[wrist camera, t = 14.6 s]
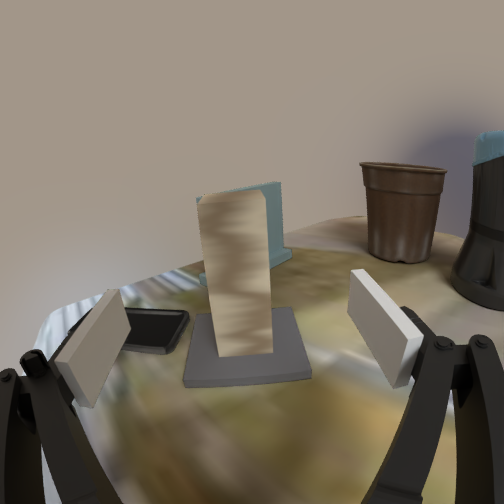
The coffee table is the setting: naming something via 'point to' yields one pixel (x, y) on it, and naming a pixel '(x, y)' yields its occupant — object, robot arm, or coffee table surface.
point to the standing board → (268, 224)
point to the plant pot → (401, 209)
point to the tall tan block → (237, 270)
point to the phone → (151, 329)
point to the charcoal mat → (247, 356)
